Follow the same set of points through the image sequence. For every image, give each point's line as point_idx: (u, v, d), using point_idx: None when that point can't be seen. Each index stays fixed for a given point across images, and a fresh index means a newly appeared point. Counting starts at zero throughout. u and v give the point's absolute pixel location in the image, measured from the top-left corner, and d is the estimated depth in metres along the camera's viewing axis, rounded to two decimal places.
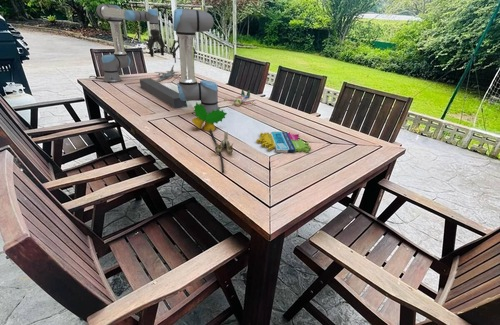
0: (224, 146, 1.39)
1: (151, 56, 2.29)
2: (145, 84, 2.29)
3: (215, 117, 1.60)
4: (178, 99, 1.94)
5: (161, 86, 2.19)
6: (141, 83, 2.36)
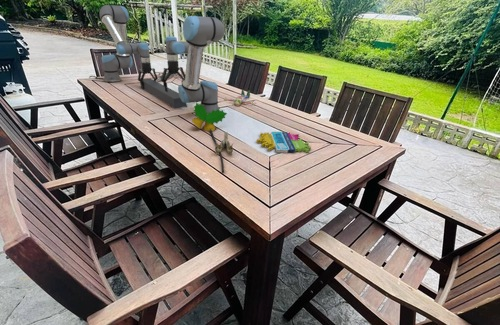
0: (224, 146, 1.39)
1: None
2: (145, 84, 2.29)
3: (215, 117, 1.60)
4: (178, 99, 1.94)
5: (161, 86, 2.19)
6: None
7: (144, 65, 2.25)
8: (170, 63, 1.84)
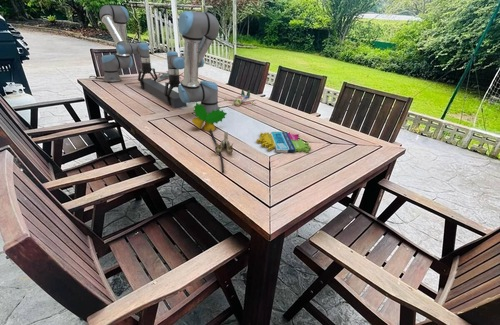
0: (224, 146, 1.39)
1: None
2: (145, 84, 2.29)
3: (215, 117, 1.60)
4: (178, 99, 1.94)
5: (161, 86, 2.19)
6: None
7: (144, 65, 2.25)
8: (171, 77, 1.89)
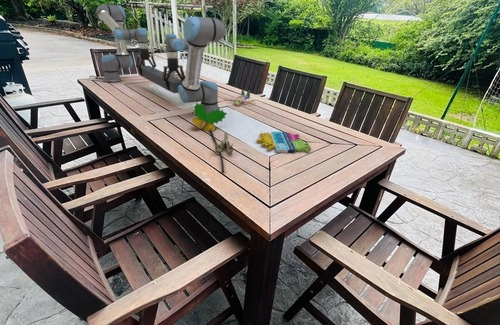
0: (224, 146, 1.39)
1: None
2: (143, 71, 2.23)
3: (215, 117, 1.60)
4: (177, 84, 1.88)
5: (160, 72, 2.14)
6: None
7: (142, 51, 2.19)
8: (170, 60, 1.83)
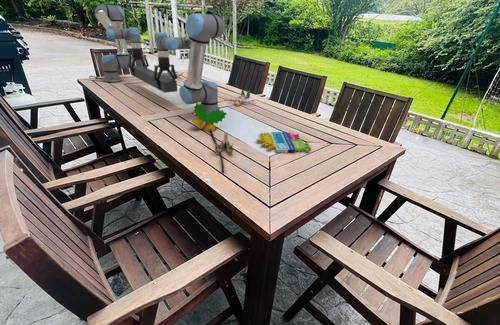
0: (224, 146, 1.39)
1: None
2: (135, 71, 2.21)
3: (215, 117, 1.60)
4: (168, 83, 1.86)
5: (152, 72, 2.11)
6: None
7: (134, 51, 2.17)
8: (160, 59, 1.81)
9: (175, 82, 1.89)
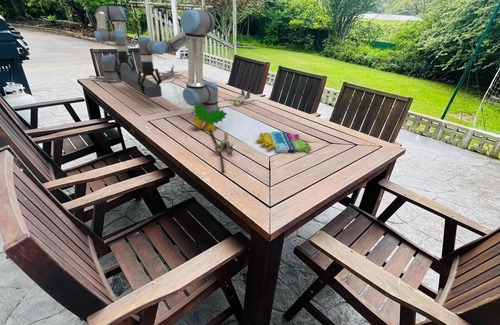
0: (224, 146, 1.39)
1: None
2: (121, 74, 2.18)
3: (215, 117, 1.60)
4: (152, 88, 1.82)
5: (137, 76, 2.08)
6: None
7: (120, 54, 2.14)
8: (144, 64, 1.77)
9: (159, 87, 1.85)
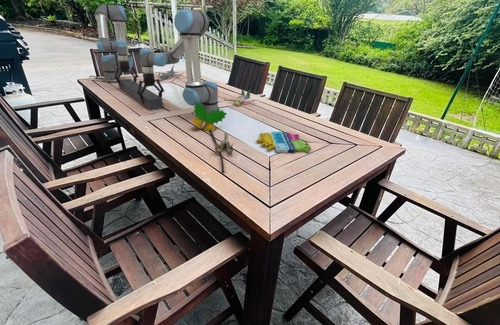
0: (224, 146, 1.39)
1: None
2: (123, 85, 2.22)
3: (215, 117, 1.60)
4: (153, 100, 1.87)
5: None
6: (120, 84, 2.29)
7: (121, 63, 2.17)
8: (145, 75, 1.81)
9: (161, 99, 1.90)
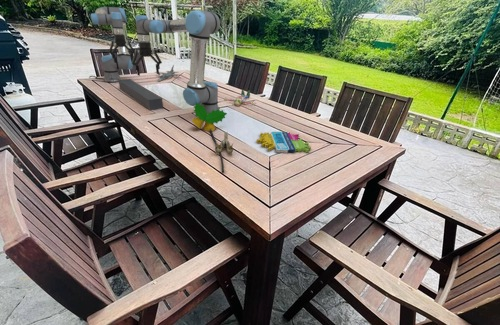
0: (224, 146, 1.39)
1: None
2: (123, 85, 2.22)
3: (215, 117, 1.60)
4: (153, 100, 1.87)
5: (139, 87, 2.12)
6: (120, 84, 2.29)
7: (117, 37, 2.08)
8: (141, 44, 1.71)
9: (161, 99, 1.90)
